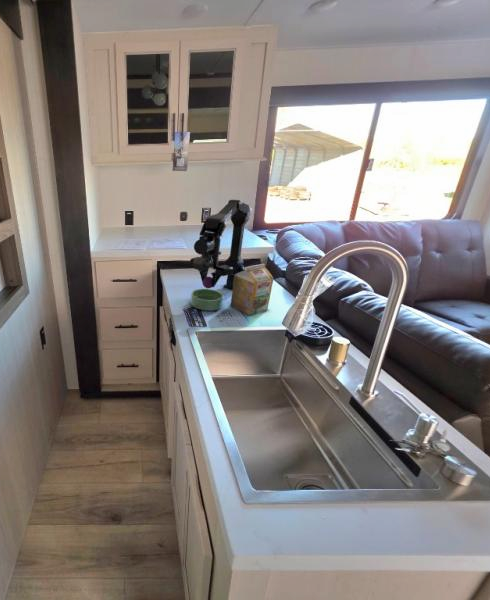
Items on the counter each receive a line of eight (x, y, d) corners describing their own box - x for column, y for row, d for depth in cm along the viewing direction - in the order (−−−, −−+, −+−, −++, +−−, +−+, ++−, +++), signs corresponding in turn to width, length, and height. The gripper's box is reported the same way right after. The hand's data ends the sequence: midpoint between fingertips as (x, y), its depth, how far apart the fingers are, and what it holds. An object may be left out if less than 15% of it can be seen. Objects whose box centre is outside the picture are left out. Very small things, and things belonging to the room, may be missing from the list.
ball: (207, 285, 137) (208, 274, 135) (216, 288, 133) (217, 277, 131) (199, 287, 134) (200, 276, 132) (208, 291, 130) (209, 279, 128)
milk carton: (249, 315, 127) (256, 271, 120) (230, 305, 136) (236, 263, 128) (267, 310, 132) (275, 267, 124) (247, 301, 140) (254, 260, 133)
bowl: (205, 296, 145) (206, 286, 143) (228, 306, 135) (229, 295, 133) (184, 303, 138) (185, 293, 136) (207, 314, 128) (208, 303, 126)
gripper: (181, 247, 130) (179, 282, 136) (216, 257, 116) (212, 296, 122) (200, 243, 136) (197, 277, 142) (236, 253, 122) (230, 290, 128)
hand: (208, 285), depth 133 cm, fingers closed on ball, 5 cm apart
